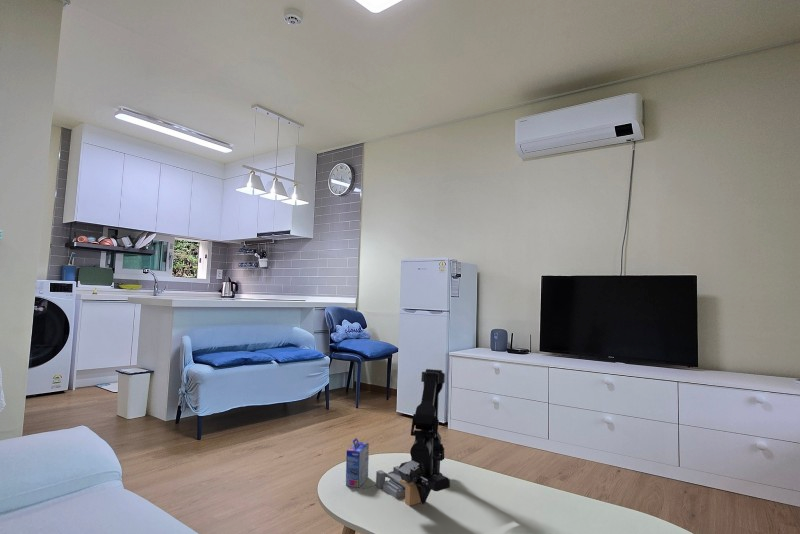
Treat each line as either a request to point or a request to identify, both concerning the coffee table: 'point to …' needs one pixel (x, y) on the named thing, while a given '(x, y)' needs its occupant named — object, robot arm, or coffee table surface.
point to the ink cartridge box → (357, 464)
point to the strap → (394, 477)
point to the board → (389, 484)
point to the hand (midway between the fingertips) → (423, 503)
